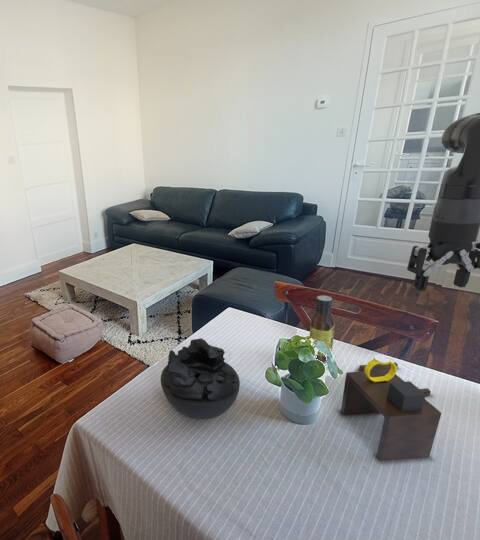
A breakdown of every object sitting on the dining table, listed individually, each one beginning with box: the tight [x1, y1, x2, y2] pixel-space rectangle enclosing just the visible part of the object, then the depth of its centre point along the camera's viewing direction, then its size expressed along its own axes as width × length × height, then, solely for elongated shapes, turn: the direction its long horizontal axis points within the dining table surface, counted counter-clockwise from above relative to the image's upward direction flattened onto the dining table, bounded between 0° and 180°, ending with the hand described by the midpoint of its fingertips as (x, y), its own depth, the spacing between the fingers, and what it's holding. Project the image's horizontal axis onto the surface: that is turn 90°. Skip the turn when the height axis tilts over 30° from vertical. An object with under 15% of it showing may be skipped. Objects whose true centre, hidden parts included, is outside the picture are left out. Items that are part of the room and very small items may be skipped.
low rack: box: [358, 362, 432, 397], centre depth 91 cm, size 10×12×2 cm
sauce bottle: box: [309, 294, 336, 361], centre depth 102 cm, size 7×6×20 cm
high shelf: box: [340, 369, 442, 462], centre depth 75 cm, size 10×14×12 cm
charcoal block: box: [387, 380, 426, 412], centre depth 69 cm, size 4×4×4 cm
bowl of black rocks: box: [160, 337, 241, 420], centre depth 87 cm, size 20×20×19 cm
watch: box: [364, 354, 398, 382], centre depth 76 cm, size 6×3×6 cm, turn 87°
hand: (439, 287), depth 77 cm, fingers open, 8 cm apart
